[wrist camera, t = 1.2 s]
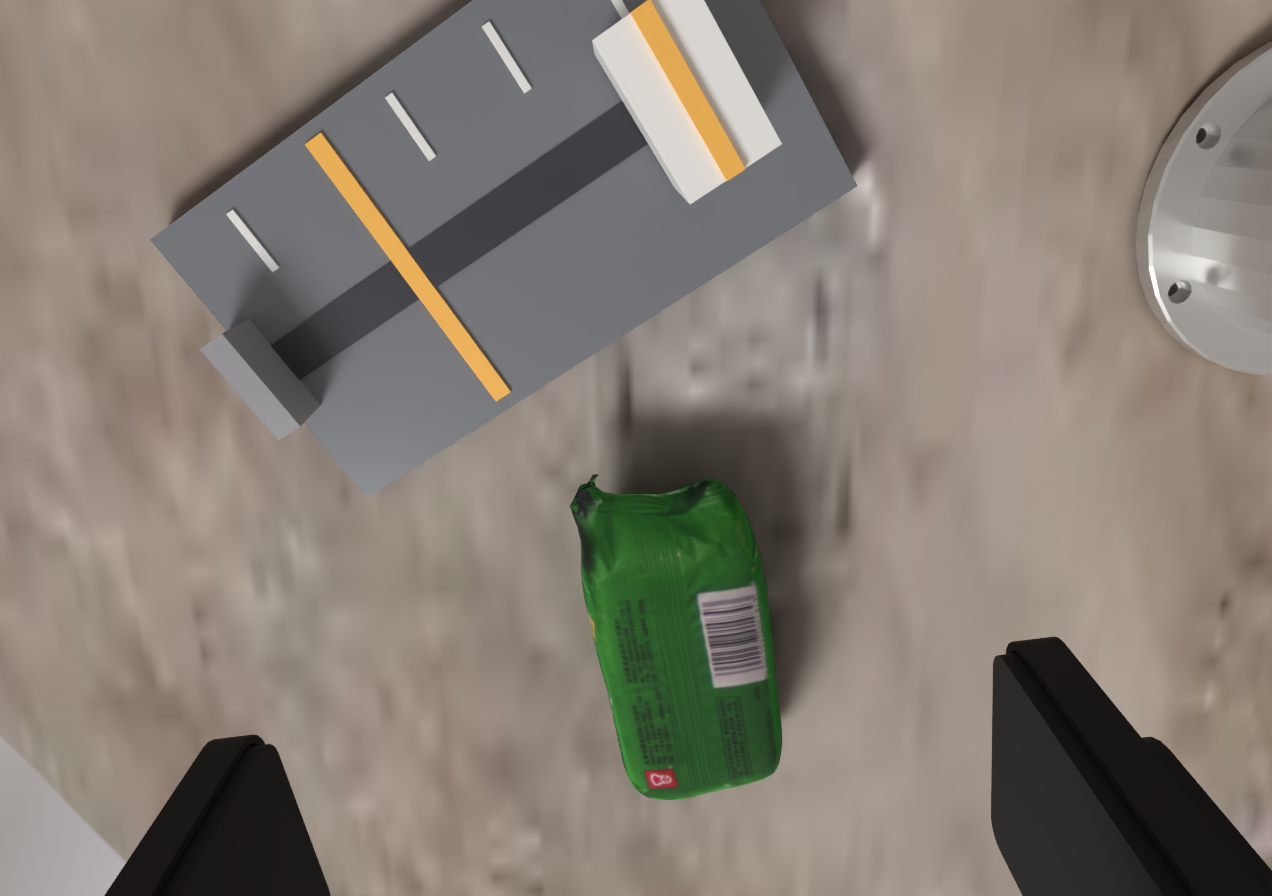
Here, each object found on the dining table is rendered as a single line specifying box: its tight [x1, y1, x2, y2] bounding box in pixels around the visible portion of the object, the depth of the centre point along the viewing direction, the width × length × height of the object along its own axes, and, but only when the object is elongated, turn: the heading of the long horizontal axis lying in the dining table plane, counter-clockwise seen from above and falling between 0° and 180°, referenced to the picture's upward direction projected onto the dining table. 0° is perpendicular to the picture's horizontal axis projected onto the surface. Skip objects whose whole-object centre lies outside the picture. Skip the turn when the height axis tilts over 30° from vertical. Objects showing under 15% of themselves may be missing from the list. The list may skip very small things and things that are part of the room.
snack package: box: [570, 474, 782, 800], centre depth 36 cm, size 7×16×5 cm, turn 9°
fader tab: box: [592, 0, 782, 204], centre depth 26 cm, size 3×5×6 cm, turn 32°
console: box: [150, 0, 857, 498], centre depth 30 cm, size 22×12×4 cm, turn 123°
